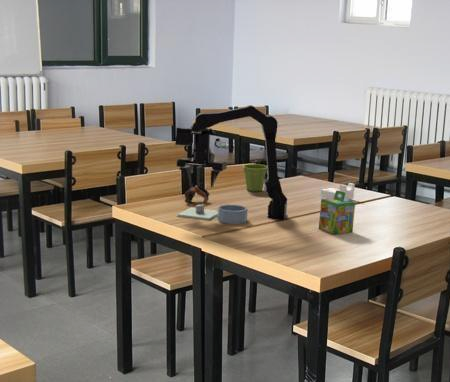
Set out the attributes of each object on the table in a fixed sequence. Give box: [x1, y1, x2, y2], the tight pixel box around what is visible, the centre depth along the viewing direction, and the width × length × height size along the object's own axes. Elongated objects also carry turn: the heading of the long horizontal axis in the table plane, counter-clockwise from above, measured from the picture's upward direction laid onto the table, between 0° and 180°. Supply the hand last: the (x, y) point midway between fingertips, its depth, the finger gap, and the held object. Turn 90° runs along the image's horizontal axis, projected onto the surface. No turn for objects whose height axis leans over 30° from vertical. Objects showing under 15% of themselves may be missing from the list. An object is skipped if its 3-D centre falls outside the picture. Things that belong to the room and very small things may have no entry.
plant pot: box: [242, 163, 267, 192], centre depth 327 cm, size 12×12×11 cm
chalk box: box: [318, 189, 356, 235], centre depth 259 cm, size 9×9×15 cm
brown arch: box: [184, 184, 210, 205], centre depth 297 cm, size 12×10×8 cm
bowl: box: [216, 204, 249, 225], centre depth 269 cm, size 11×11×5 cm
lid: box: [177, 204, 217, 221], centre depth 275 cm, size 13×13×4 cm
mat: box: [175, 215, 217, 222], centre depth 275 cm, size 14×14×1 cm
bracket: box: [319, 182, 355, 200], centre depth 316 cm, size 13×7×8 cm, turn 43°
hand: (200, 186), depth 273 cm, fingers open, 9 cm apart
